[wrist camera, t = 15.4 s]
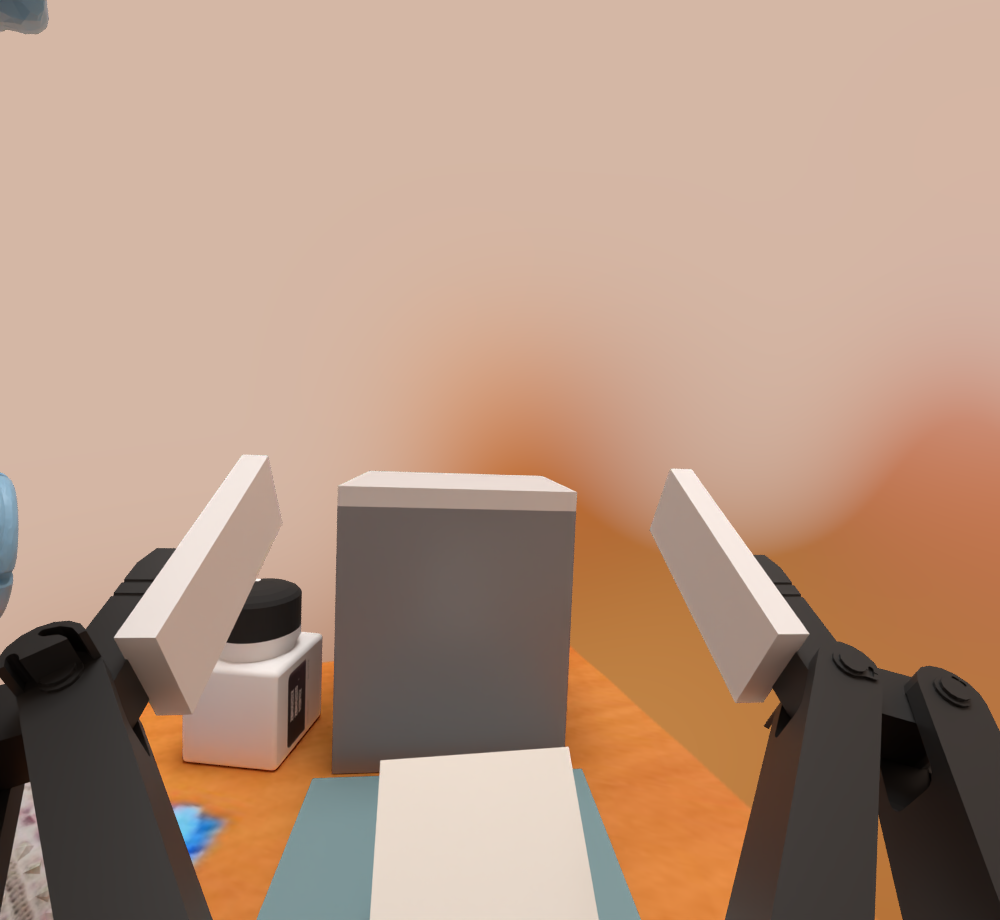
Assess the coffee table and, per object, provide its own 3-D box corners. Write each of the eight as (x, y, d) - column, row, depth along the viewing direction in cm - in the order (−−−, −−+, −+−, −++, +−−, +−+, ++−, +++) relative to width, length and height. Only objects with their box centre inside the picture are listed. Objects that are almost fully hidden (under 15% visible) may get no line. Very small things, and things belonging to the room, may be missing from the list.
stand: (563, 765, 38) (576, 492, 37) (331, 773, 36) (337, 485, 35) (533, 677, 52) (542, 476, 51) (364, 679, 50) (369, 471, 49)
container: (322, 714, 44) (325, 574, 43) (275, 773, 36) (278, 604, 36) (242, 707, 45) (243, 569, 44) (179, 763, 37) (180, 597, 36)
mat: (734, 1181, 17) (735, 1160, 17) (129, 1261, 15) (129, 1238, 15) (581, 778, 37) (581, 768, 37) (312, 788, 35) (312, 778, 35)
